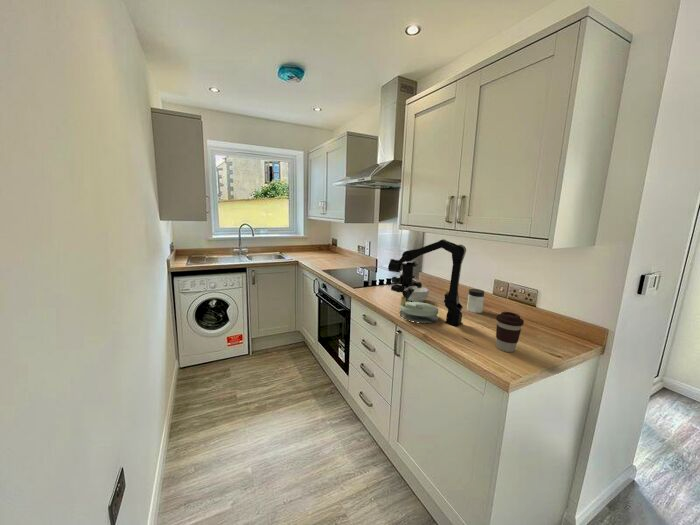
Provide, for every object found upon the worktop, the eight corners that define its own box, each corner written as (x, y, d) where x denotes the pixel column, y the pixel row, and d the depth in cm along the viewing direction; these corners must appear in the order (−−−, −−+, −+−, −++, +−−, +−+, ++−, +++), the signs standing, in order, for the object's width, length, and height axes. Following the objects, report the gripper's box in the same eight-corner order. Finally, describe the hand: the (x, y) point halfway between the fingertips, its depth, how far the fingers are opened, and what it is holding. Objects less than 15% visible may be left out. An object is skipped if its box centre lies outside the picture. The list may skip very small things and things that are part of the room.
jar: (466, 307, 174) (468, 287, 172) (480, 309, 172) (483, 289, 170) (467, 311, 166) (469, 291, 164) (482, 314, 164) (485, 293, 161)
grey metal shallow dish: (445, 318, 153) (446, 312, 152) (421, 326, 141) (422, 320, 140) (415, 308, 168) (416, 302, 168) (391, 314, 156) (391, 308, 155)
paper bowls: (432, 302, 180) (434, 290, 179) (412, 305, 173) (414, 292, 172) (417, 295, 194) (418, 284, 192) (398, 297, 187) (399, 285, 186)
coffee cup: (490, 349, 121) (495, 314, 118) (494, 341, 129) (498, 308, 126) (517, 356, 115) (523, 320, 113) (519, 347, 124) (525, 314, 121)
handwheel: (415, 301, 168) (415, 292, 167) (445, 311, 153) (446, 301, 152) (392, 308, 155) (393, 297, 154) (423, 319, 140) (424, 308, 139)
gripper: (407, 269, 168) (405, 295, 171) (384, 272, 156) (383, 300, 159) (423, 272, 159) (421, 300, 162) (400, 276, 148) (398, 306, 151)
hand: (405, 301), depth 159 cm, fingers closed
